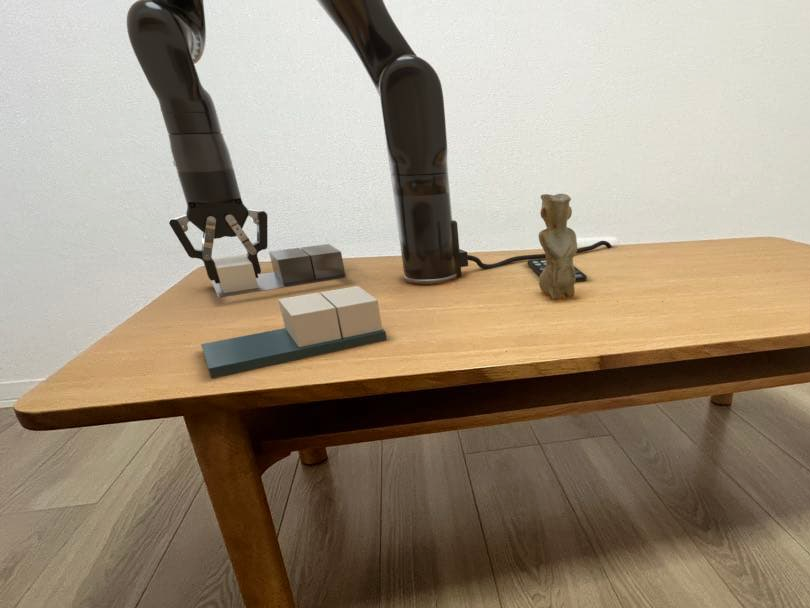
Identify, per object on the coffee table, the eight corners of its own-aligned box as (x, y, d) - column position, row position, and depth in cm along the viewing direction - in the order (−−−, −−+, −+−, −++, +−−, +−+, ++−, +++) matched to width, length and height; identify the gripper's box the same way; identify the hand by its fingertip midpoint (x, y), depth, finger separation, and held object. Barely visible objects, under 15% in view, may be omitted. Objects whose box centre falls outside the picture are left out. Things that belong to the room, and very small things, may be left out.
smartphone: (546, 280, 90) (525, 260, 103) (546, 284, 91) (526, 263, 103) (588, 276, 92) (562, 257, 105) (588, 280, 92) (562, 260, 105)
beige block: (251, 277, 93) (244, 254, 91) (258, 288, 87) (252, 263, 85) (218, 282, 91) (211, 258, 89) (224, 293, 85) (216, 268, 83)
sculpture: (567, 287, 89) (568, 190, 82) (582, 299, 83) (585, 196, 76) (534, 290, 88) (532, 192, 81) (546, 303, 82) (545, 198, 74)
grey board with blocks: (331, 270, 102) (325, 242, 100) (350, 284, 93) (344, 253, 91) (212, 287, 92) (203, 257, 90) (220, 305, 84) (210, 271, 81)
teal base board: (365, 321, 76) (358, 284, 73) (387, 339, 69) (380, 300, 67) (204, 353, 66) (190, 312, 64) (211, 378, 59) (196, 334, 57)
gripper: (148, 172, 74) (188, 292, 82) (260, 166, 81) (287, 277, 89) (148, 168, 80) (185, 281, 88) (253, 163, 87) (278, 268, 95)
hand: (236, 279), depth 89 cm, fingers closed on beige block, 5 cm apart
